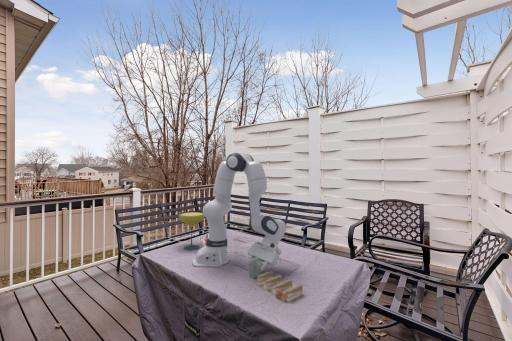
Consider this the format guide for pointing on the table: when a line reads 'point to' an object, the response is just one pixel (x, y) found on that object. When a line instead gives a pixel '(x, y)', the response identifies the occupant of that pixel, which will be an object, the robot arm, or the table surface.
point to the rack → (279, 286)
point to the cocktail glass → (191, 223)
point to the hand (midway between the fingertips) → (255, 266)
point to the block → (255, 267)
